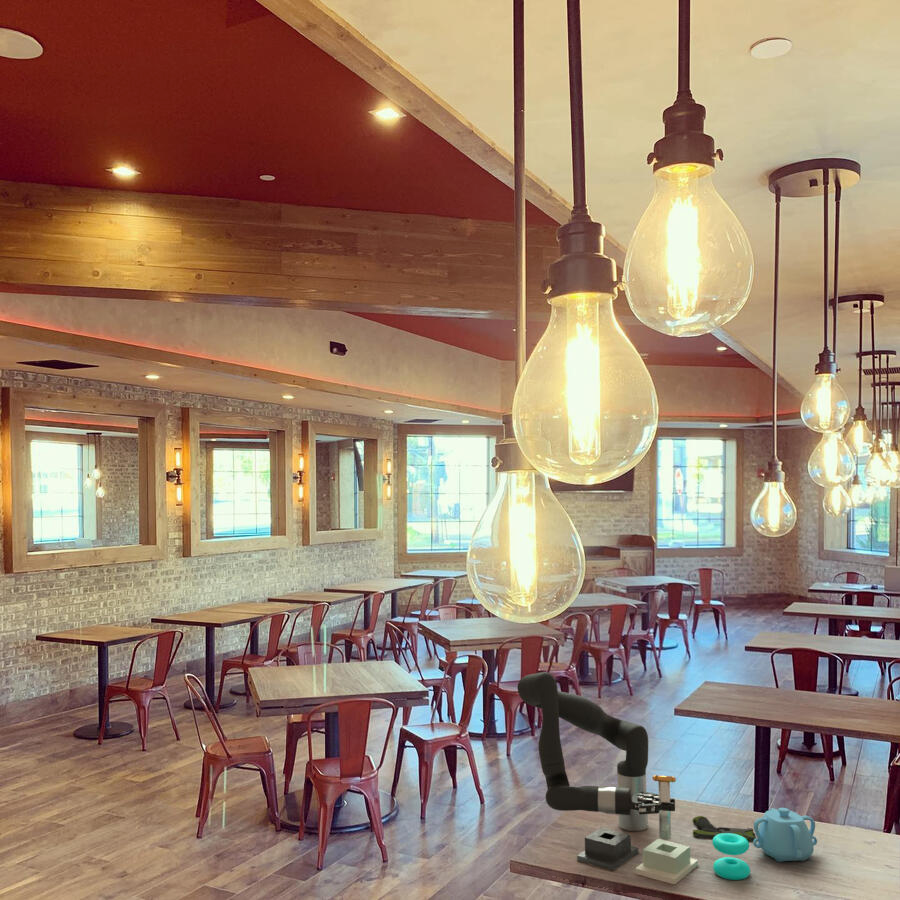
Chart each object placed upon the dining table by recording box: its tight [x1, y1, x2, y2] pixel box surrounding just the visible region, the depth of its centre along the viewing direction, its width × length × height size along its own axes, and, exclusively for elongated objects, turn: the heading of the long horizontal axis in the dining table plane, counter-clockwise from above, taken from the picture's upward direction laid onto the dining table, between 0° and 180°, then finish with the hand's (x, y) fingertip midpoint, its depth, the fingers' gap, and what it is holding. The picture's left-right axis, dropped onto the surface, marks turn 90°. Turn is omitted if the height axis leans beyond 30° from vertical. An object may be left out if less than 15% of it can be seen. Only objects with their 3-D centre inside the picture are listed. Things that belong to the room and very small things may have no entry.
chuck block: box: [576, 827, 640, 872], centre depth 262 cm, size 16×12×6 cm
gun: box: [692, 815, 757, 843], centre depth 279 cm, size 2×19×15 cm
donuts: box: [711, 833, 751, 881], centre depth 248 cm, size 10×10×10 cm
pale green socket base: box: [634, 838, 699, 885], centre depth 252 cm, size 16×12×6 cm
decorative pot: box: [752, 807, 818, 863], centre depth 261 cm, size 16×16×14 cm
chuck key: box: [652, 774, 677, 841], centre depth 253 cm, size 7×3×18 cm, turn 76°
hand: (674, 804), depth 252 cm, fingers closed on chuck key, 3 cm apart
